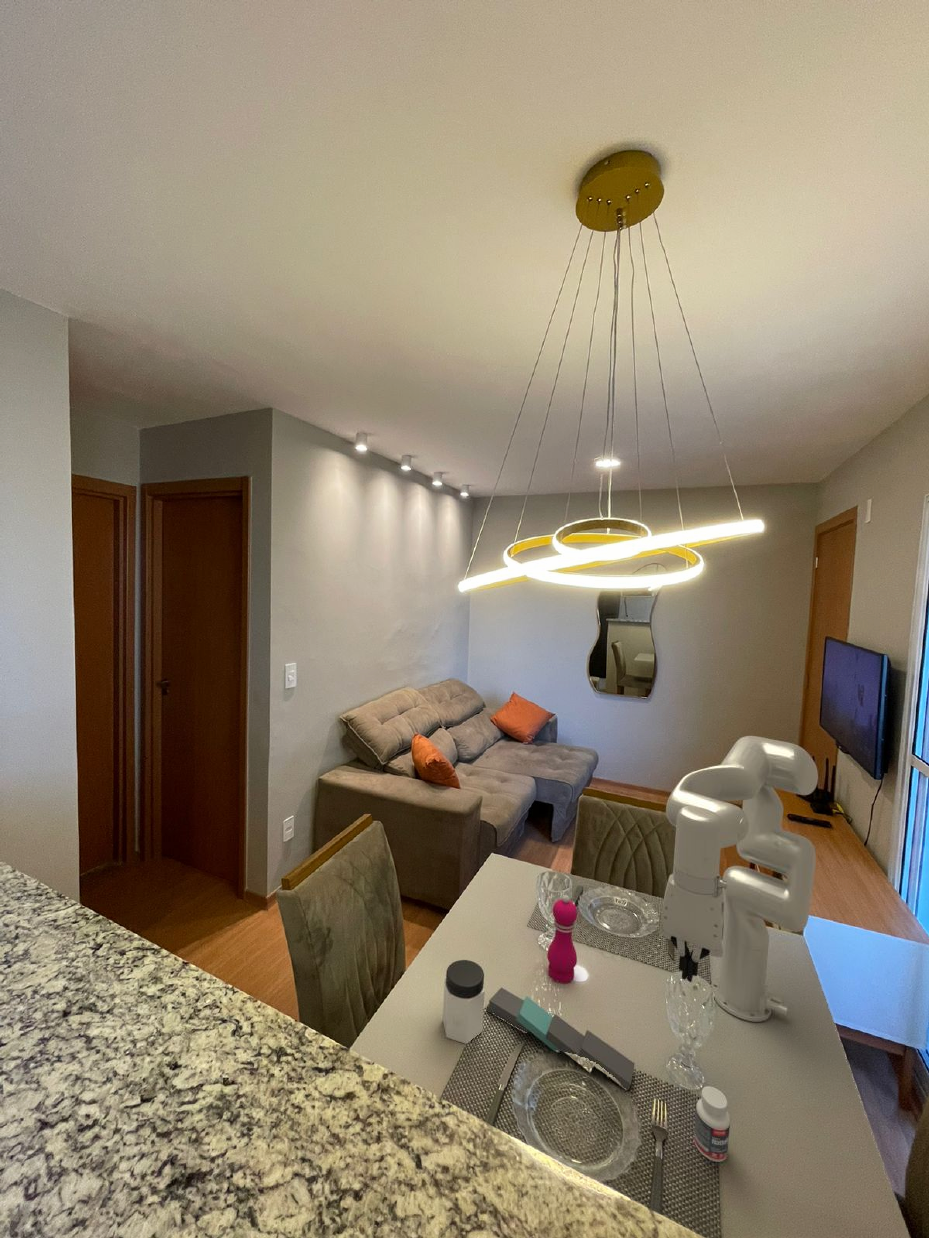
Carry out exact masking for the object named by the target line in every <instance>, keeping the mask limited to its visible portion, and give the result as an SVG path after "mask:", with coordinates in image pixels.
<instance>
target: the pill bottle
mask: <svg viewBox="0 0 929 1238" xmlns="http://www.w3.org/2000/svg"><path fill="white" fill-rule="evenodd" d="M730 1118H731V1117H730V1114H729V1111H728V1100H727V1098H726V1096H725V1095H724V1093H723V1092H722V1091H721V1090H719V1089H718V1088H716V1087H713V1086H709V1085H708V1086H705V1087H703V1088H702V1090H701V1097H700V1099H698V1101H697V1103H696V1106H695V1116H694V1130H693V1142H694V1144H695V1147H696V1148H697V1150H698V1151H699V1152H700V1154H701V1155H702V1156H703V1157H704V1158H706V1159H708V1160H709V1161H712V1162H716V1163H721V1162H723V1161H725V1160H726V1159H727V1157H728V1152H729V1141H730V1140H729V1138H730V1129H731V1119H730Z"/></svg>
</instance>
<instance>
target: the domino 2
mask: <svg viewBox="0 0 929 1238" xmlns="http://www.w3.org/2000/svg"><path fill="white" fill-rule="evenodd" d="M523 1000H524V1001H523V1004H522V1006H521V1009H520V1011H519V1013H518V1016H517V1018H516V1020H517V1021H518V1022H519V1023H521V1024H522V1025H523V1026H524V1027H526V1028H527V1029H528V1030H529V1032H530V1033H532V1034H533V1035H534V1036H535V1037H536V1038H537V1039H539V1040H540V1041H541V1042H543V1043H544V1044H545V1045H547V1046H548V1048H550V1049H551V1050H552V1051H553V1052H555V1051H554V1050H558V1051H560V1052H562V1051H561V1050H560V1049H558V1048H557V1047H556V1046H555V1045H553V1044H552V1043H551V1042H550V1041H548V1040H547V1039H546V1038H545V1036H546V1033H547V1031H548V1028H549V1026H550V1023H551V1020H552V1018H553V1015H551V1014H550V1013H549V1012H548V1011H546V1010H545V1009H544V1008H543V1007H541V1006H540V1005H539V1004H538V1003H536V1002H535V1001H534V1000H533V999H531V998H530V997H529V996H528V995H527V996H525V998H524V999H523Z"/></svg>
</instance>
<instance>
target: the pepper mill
mask: <svg viewBox="0 0 929 1238" xmlns="http://www.w3.org/2000/svg"><path fill="white" fill-rule="evenodd" d="M552 916H553V918H554V919H553V926H554V929H555V934H554V937H553V938H552V941H551V942H550V944H549V947H548V949H547V954H546V956H547V957H546V958H547V961H548V968H547V969H548V971H547V972H548V976H549V977H550V978H551V980H554V981H555V982H557V983H561V984H568V983H570V982H572V981H573V980H574V978H575V967H576V965H577V963H578V957H577V951H576V949H575V945H574V943H573V939H572V937H573V936H572V934H573V931H574V930H575V922H576V920H577V918H578V909H577V907H576V905H575V903H574V902H572V901H571V900H570V897H569V896H568V895H567V894H564V895H563V896H562V898H561V899H559V900H557V901H555V903H554V905H553V906H552Z"/></svg>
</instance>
